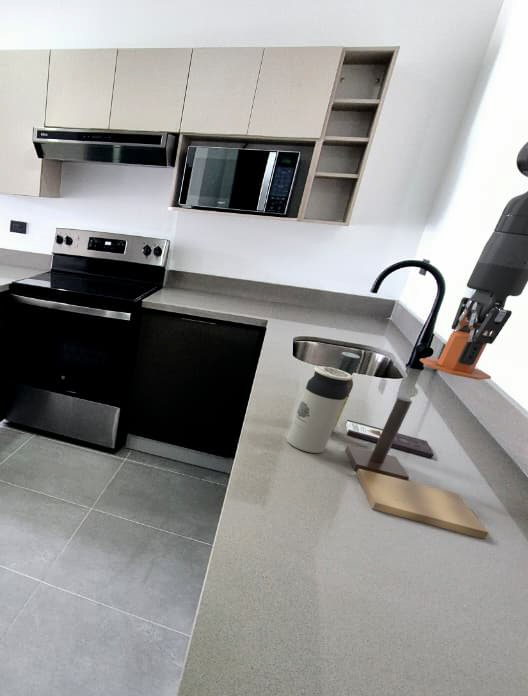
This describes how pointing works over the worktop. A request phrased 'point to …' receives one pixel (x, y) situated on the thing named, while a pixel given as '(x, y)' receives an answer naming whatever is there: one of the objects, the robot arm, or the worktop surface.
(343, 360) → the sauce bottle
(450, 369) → the hat
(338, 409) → the travel mug
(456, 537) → the worktop surface
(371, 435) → the chocolate bar
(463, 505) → the oak board
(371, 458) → the hat stand
